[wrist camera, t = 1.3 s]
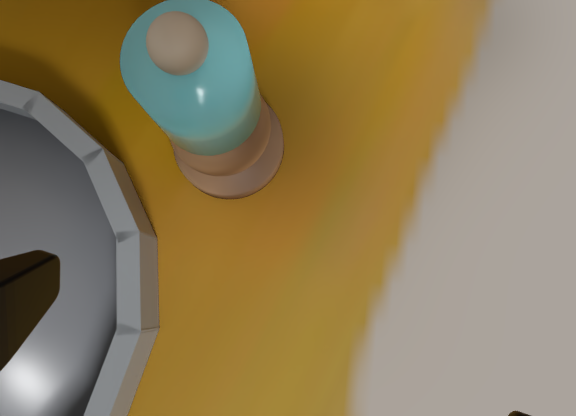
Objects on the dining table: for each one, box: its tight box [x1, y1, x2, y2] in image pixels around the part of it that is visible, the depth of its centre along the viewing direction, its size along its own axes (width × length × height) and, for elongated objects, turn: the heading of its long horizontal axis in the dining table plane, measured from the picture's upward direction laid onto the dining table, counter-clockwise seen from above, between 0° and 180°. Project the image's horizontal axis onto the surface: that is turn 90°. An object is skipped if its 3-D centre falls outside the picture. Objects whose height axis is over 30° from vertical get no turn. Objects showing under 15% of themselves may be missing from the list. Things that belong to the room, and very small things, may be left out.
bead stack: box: [120, 0, 284, 199], centre depth 19 cm, size 5×5×11 cm
